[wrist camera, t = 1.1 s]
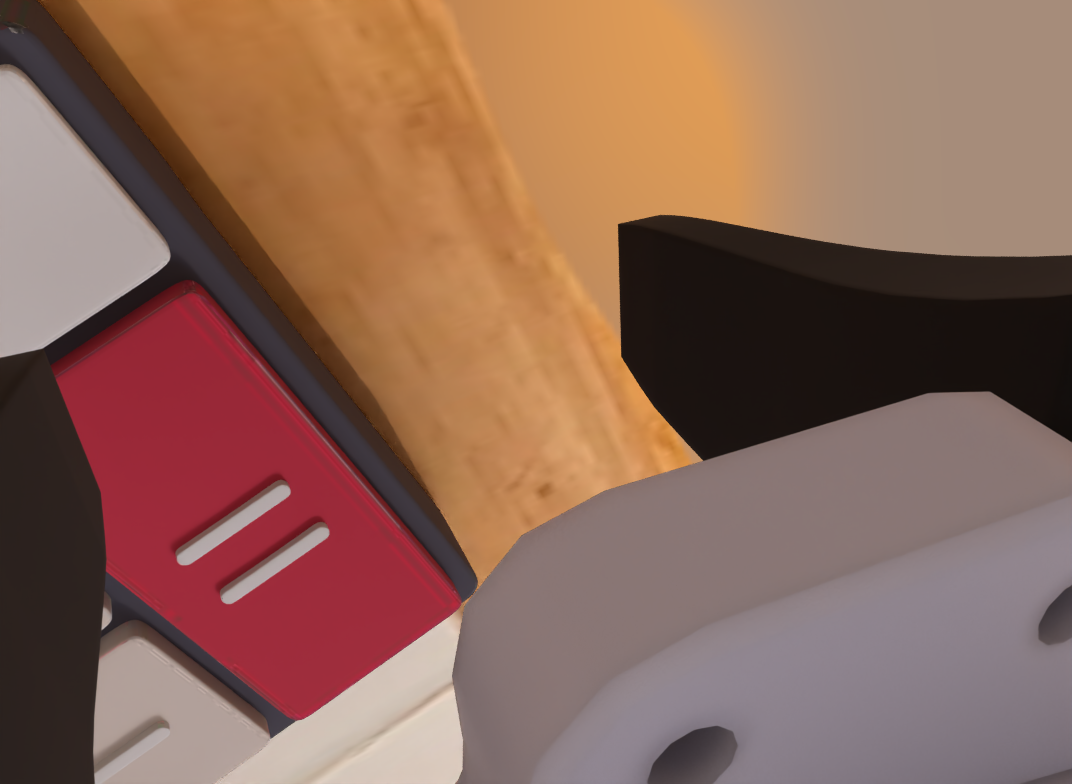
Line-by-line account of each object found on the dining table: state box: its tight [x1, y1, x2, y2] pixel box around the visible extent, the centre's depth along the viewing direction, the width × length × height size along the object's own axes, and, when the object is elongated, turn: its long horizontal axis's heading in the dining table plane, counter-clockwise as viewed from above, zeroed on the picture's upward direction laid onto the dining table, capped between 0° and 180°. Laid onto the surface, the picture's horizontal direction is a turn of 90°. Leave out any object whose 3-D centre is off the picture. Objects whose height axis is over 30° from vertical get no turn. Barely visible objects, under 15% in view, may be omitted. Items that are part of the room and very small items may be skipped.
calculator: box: [0, 0, 478, 784], centre depth 18 cm, size 11×4×15 cm
